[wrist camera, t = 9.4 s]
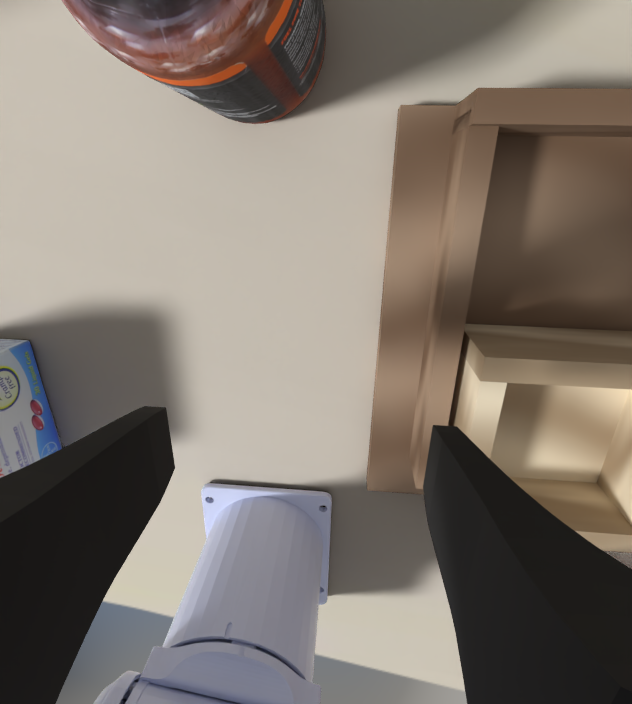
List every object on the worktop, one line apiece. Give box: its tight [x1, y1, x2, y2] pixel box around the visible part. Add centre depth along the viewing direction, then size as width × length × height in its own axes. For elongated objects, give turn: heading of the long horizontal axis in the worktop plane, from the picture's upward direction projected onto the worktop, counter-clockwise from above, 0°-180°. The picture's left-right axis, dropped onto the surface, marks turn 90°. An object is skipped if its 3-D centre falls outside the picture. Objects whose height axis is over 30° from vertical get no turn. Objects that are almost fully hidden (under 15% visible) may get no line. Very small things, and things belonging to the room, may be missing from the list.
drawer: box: [448, 324, 632, 553], centre depth 17 cm, size 12×9×8 cm
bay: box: [367, 88, 632, 494], centre depth 18 cm, size 19×16×4 cm
